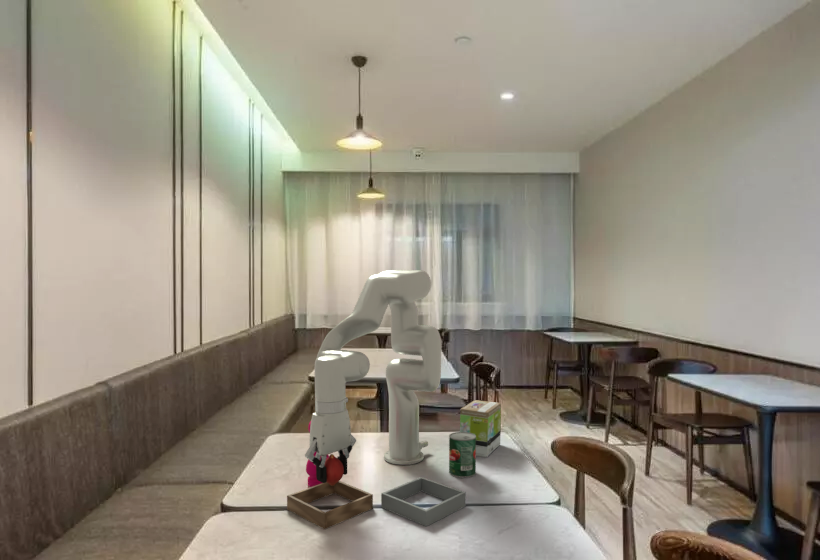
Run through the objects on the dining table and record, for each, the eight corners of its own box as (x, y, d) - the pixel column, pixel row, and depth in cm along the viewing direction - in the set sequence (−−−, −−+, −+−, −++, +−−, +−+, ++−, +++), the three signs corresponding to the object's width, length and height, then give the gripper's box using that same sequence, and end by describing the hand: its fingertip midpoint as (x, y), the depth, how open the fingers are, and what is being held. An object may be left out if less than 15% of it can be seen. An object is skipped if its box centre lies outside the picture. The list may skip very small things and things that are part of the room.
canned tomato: (443, 472, 158) (443, 435, 158) (461, 466, 163) (461, 430, 163) (462, 480, 152) (463, 441, 152) (481, 473, 157) (481, 436, 157)
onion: (321, 480, 137) (321, 450, 136) (344, 479, 137) (343, 449, 137) (319, 490, 131) (319, 458, 131) (343, 489, 131) (342, 457, 131)
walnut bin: (334, 491, 144) (334, 478, 144) (372, 508, 134) (372, 494, 133) (287, 509, 133) (287, 495, 133) (324, 529, 123) (324, 514, 123)
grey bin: (421, 489, 145) (421, 476, 145) (465, 506, 135) (465, 492, 135) (381, 507, 134) (381, 493, 134) (426, 526, 124) (426, 511, 124)
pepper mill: (326, 489, 145) (326, 416, 145) (301, 487, 146) (301, 414, 146) (335, 479, 152) (335, 409, 152) (311, 477, 154) (311, 408, 153)
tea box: (488, 458, 170) (488, 411, 170) (458, 453, 175) (458, 408, 174) (501, 444, 184) (501, 401, 184) (473, 440, 188) (473, 398, 188)
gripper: (347, 396, 142) (348, 463, 143) (292, 410, 129) (294, 484, 130) (366, 401, 137) (367, 470, 138) (311, 416, 124) (313, 493, 125)
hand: (332, 476), depth 134 cm, fingers closed on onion, 5 cm apart
